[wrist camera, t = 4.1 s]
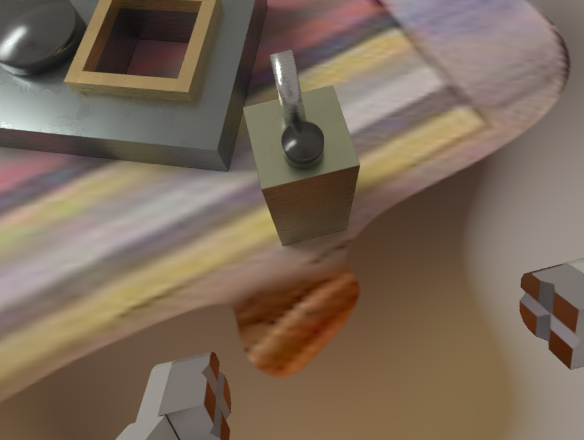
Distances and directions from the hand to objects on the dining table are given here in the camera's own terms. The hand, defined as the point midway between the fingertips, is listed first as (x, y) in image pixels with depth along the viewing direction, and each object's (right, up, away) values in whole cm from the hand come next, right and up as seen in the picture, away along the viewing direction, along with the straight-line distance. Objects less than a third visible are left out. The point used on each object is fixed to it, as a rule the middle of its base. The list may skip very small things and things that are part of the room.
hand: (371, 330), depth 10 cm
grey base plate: (-17, +15, +21) cm, 31 cm away
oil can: (-1, +4, +15) cm, 16 cm away
